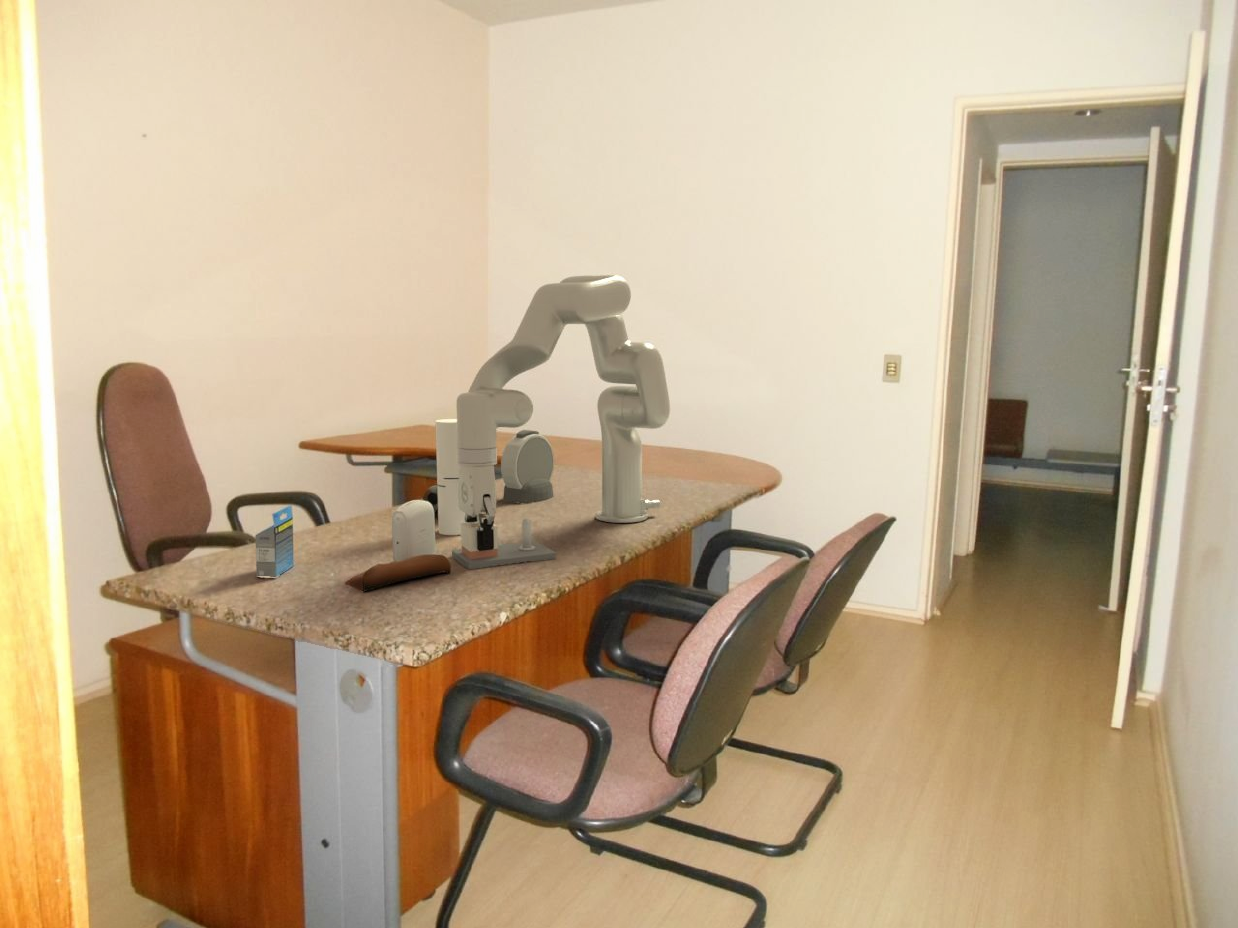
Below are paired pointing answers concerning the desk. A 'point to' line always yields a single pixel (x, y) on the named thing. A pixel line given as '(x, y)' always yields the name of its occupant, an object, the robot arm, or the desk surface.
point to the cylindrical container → (448, 478)
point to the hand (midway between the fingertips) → (479, 545)
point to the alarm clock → (527, 468)
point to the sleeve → (475, 542)
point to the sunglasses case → (399, 571)
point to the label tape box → (275, 545)
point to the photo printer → (413, 530)
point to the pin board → (510, 552)
